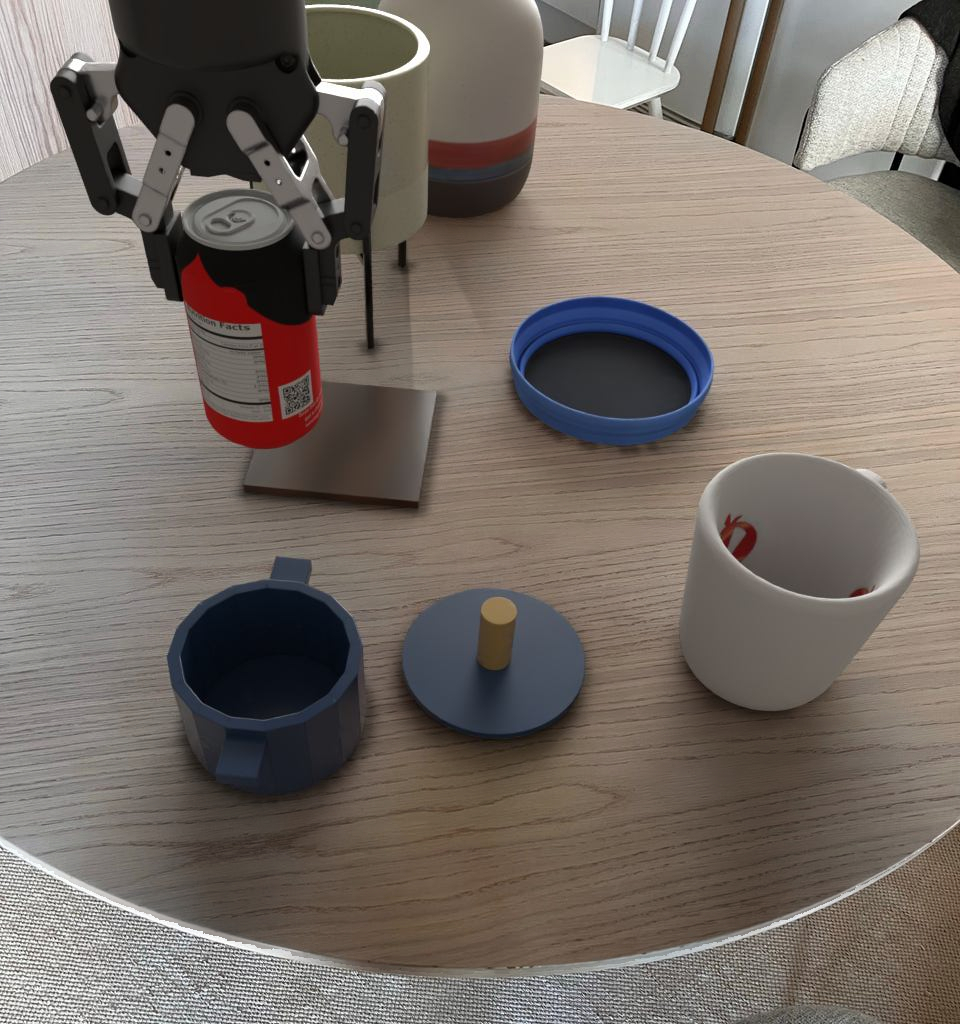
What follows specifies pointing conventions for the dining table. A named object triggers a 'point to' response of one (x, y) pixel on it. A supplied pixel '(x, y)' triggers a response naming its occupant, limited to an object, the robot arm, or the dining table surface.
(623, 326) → the bowl
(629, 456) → the dining table surface
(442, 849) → the dining table surface
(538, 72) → the vase
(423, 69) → the planter
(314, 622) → the pot
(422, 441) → the trivet
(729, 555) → the cup
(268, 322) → the beverage can
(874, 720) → the dining table surface
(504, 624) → the pot lid
